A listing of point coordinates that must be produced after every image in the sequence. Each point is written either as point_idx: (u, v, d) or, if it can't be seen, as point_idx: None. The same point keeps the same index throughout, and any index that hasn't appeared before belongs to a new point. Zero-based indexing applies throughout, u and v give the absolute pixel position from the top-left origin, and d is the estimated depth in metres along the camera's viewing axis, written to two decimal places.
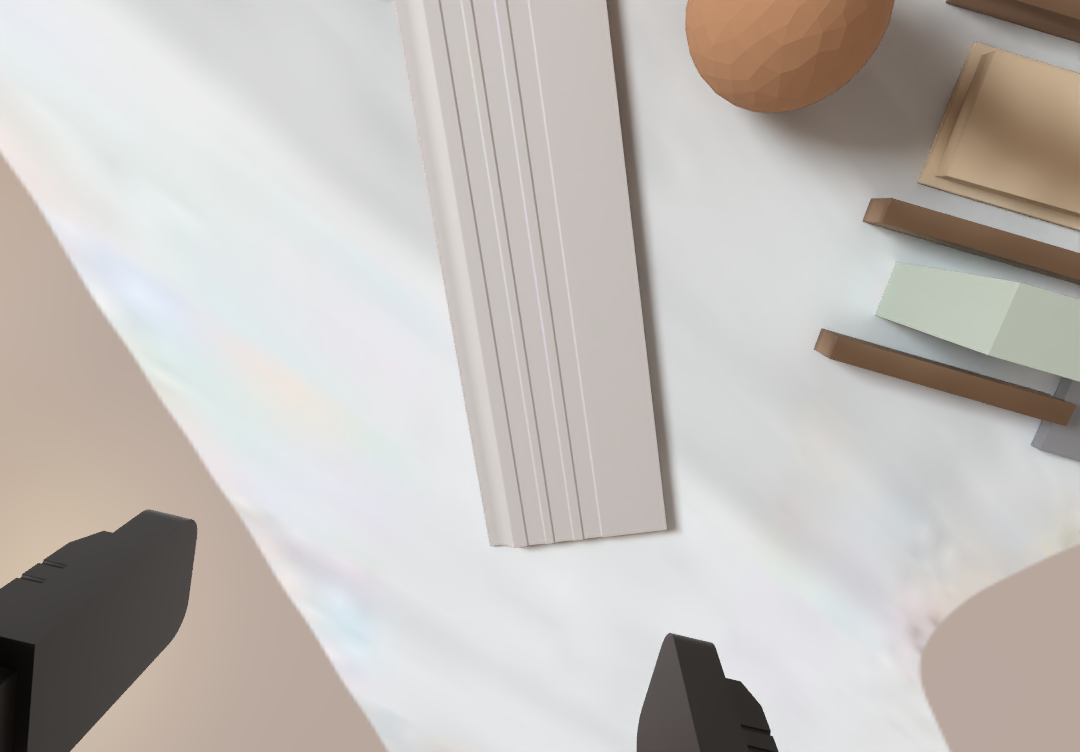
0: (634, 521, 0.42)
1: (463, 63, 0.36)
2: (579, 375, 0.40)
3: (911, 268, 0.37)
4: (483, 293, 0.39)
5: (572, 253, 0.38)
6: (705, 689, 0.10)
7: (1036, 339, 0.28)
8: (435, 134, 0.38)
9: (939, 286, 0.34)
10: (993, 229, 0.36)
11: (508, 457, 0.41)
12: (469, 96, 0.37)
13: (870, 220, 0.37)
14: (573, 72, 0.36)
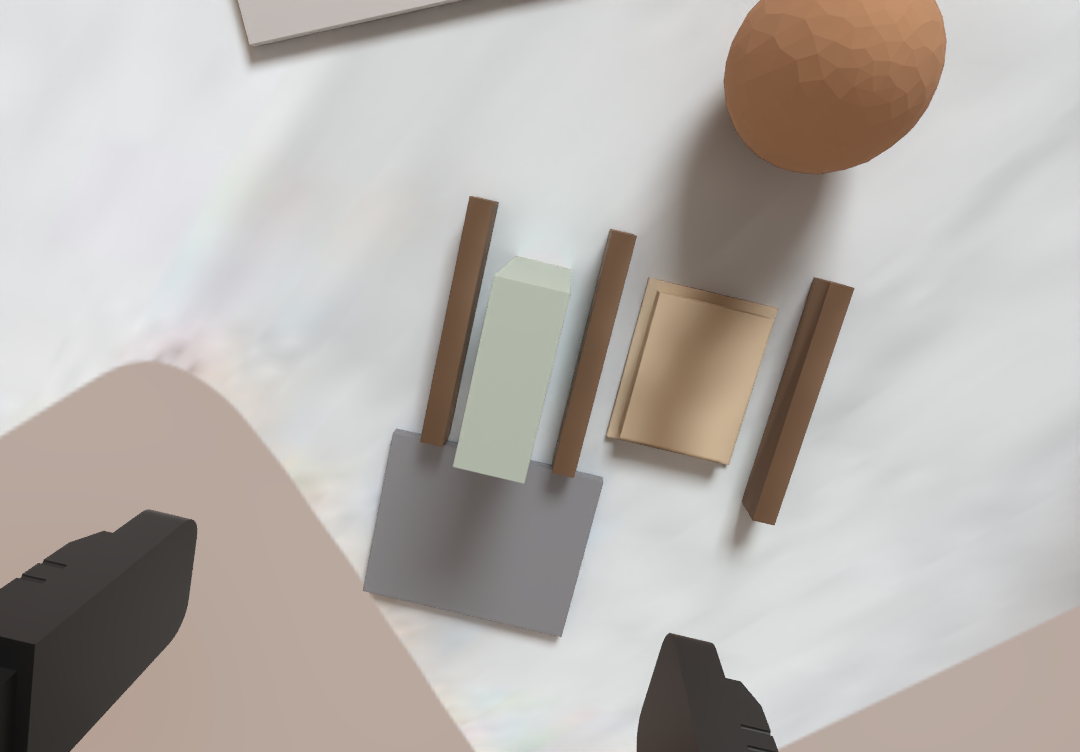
0: (253, 1, 0.35)
1: None
2: None
3: (567, 271, 0.36)
4: None
5: None
6: (705, 689, 0.10)
7: (513, 320, 0.28)
8: None
9: (554, 275, 0.33)
10: (608, 339, 0.36)
11: None
12: None
13: (612, 229, 0.37)
14: None
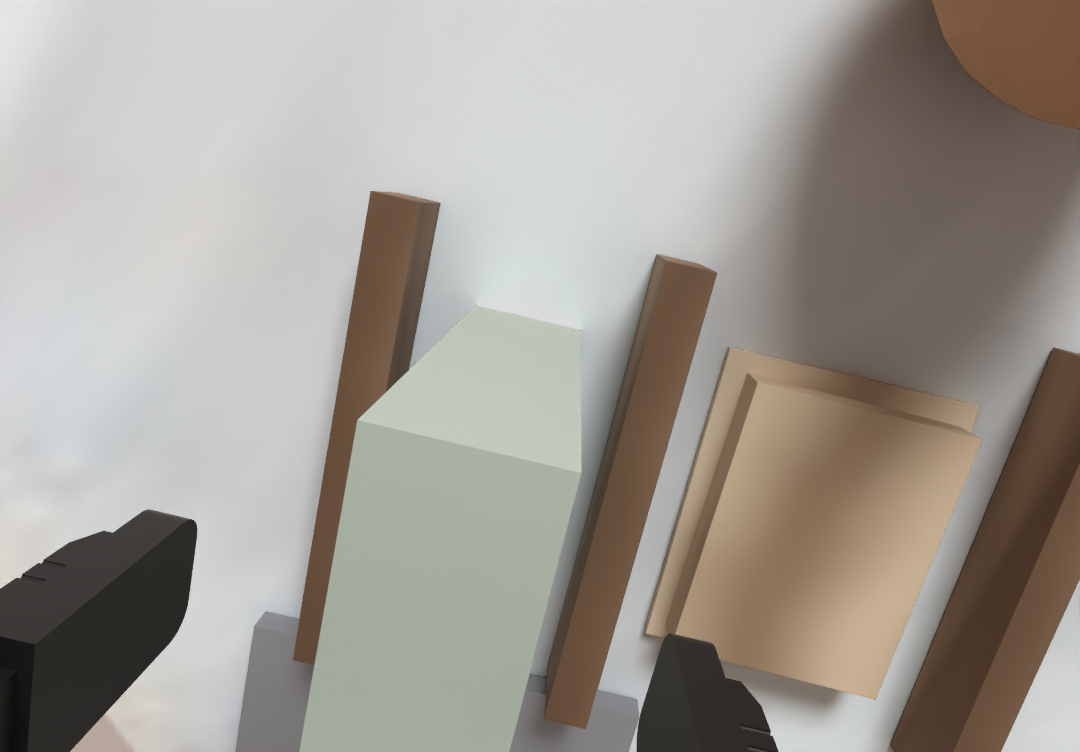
0: None
1: None
2: None
3: (572, 341, 0.18)
4: None
5: None
6: (705, 689, 0.10)
7: (419, 542, 0.10)
8: None
9: (543, 364, 0.15)
10: (655, 477, 0.18)
11: None
12: None
13: (662, 257, 0.18)
14: None
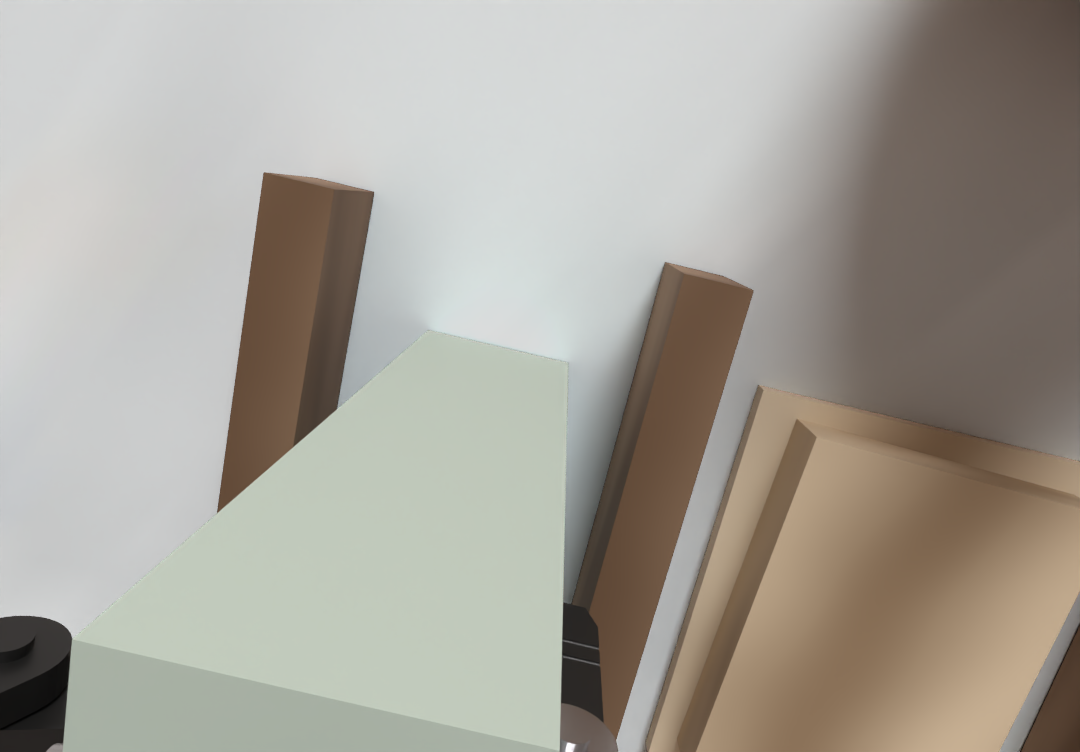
0: None
1: None
2: None
3: (556, 383, 0.13)
4: None
5: None
6: None
7: None
8: None
9: (510, 432, 0.10)
10: (664, 569, 0.13)
11: None
12: None
13: (674, 266, 0.14)
14: None
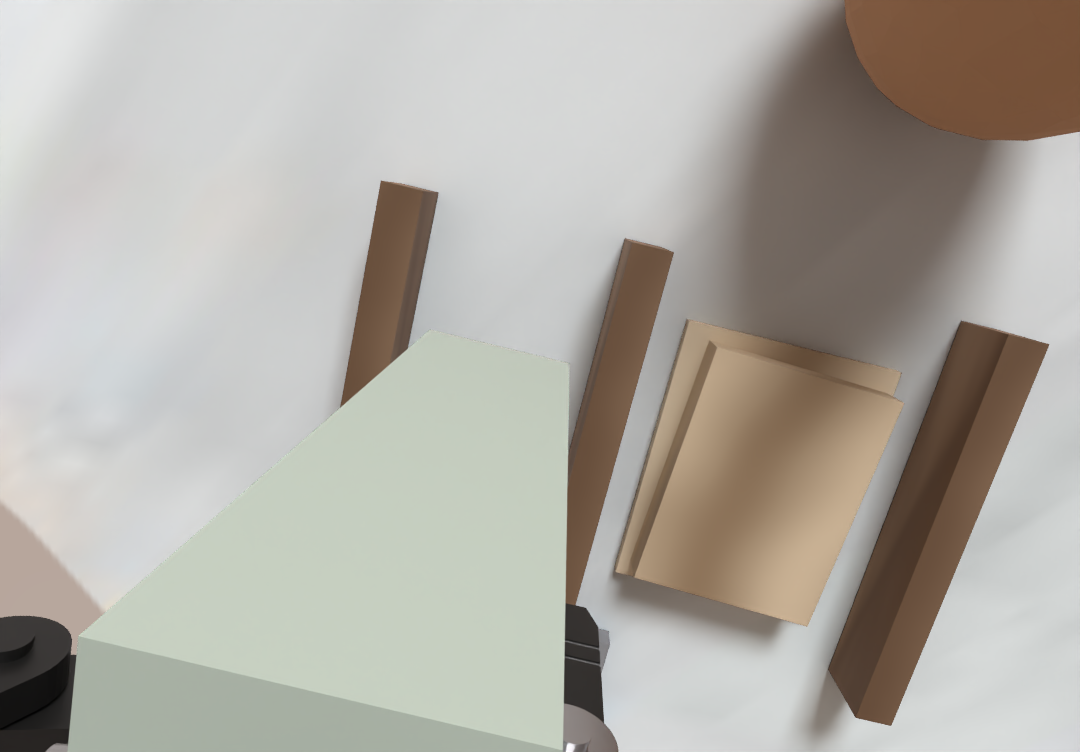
0: None
1: None
2: None
3: (557, 383, 0.13)
4: None
5: None
6: None
7: None
8: None
9: (511, 432, 0.10)
10: (622, 428, 0.21)
11: None
12: None
13: (629, 240, 0.22)
14: None
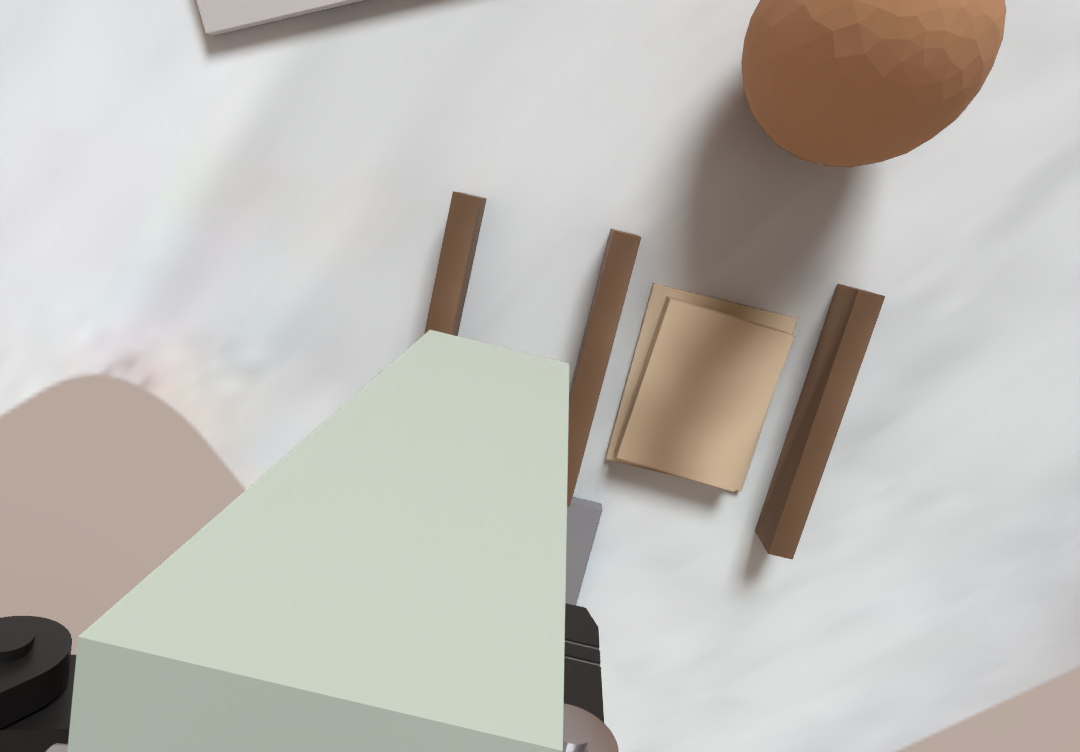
0: None
1: None
2: None
3: (557, 383, 0.13)
4: None
5: None
6: None
7: None
8: None
9: (511, 432, 0.10)
10: (608, 353, 0.33)
11: None
12: None
13: (613, 229, 0.33)
14: None
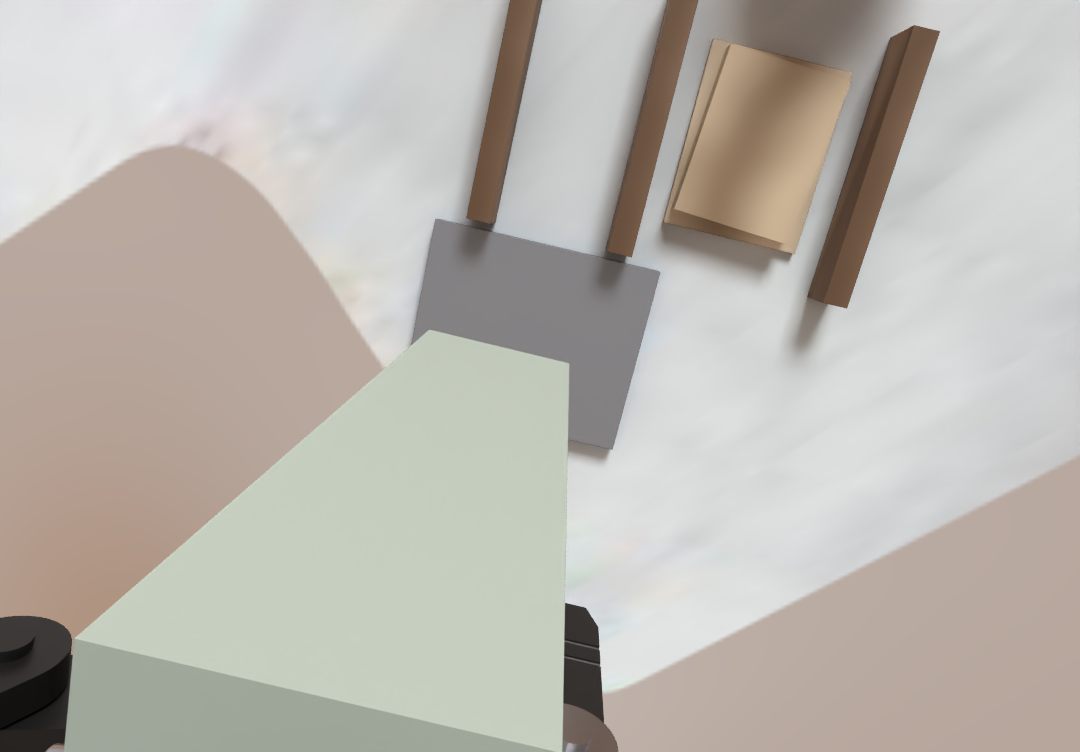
0: None
1: None
2: None
3: (557, 383, 0.13)
4: None
5: None
6: None
7: None
8: None
9: (511, 433, 0.10)
10: (671, 96, 0.34)
11: None
12: None
13: None
14: None
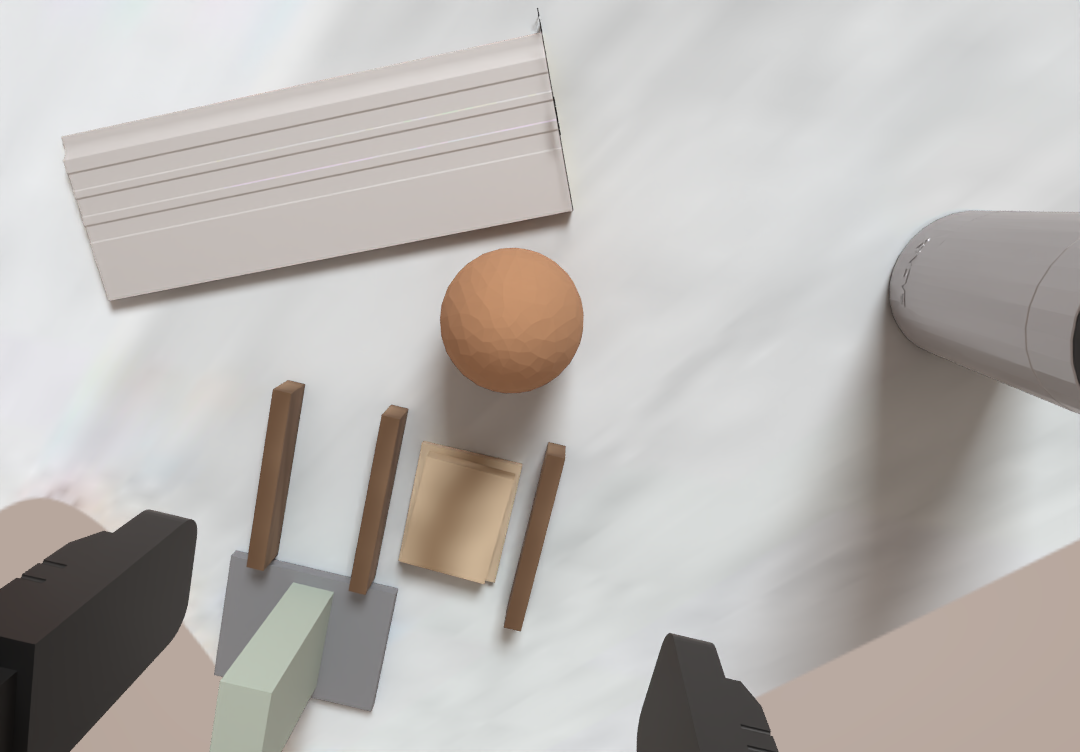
0: (110, 271, 0.47)
1: (481, 99, 0.43)
2: (233, 214, 0.46)
3: (321, 606, 0.50)
4: (293, 122, 0.44)
5: (336, 202, 0.45)
6: (705, 689, 0.10)
7: (235, 707, 0.41)
8: (425, 74, 0.44)
9: (295, 632, 0.46)
10: (384, 493, 0.48)
11: (148, 151, 0.45)
12: (455, 105, 0.44)
13: (388, 408, 0.48)
14: (479, 194, 0.45)
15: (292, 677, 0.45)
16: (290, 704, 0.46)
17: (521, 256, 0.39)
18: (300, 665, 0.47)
